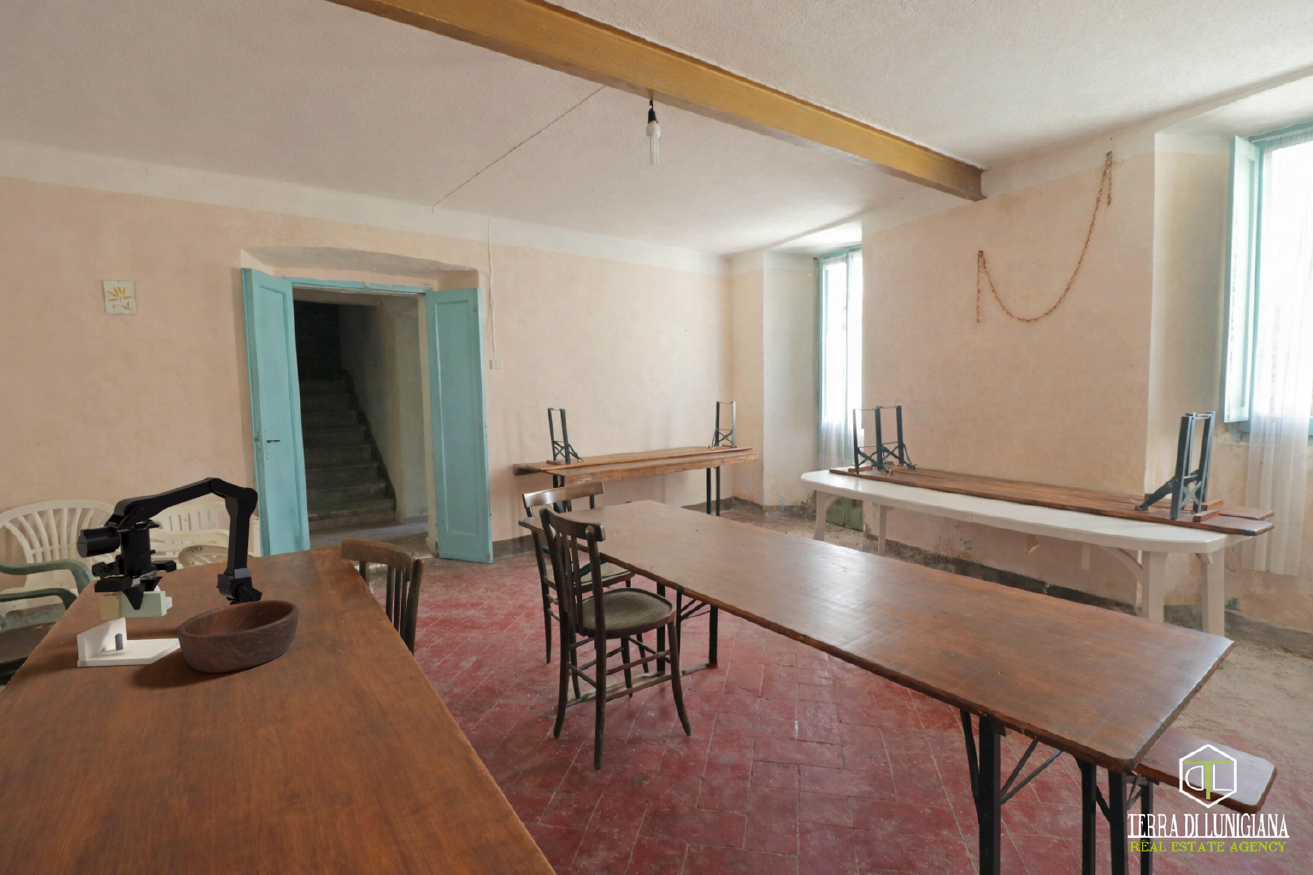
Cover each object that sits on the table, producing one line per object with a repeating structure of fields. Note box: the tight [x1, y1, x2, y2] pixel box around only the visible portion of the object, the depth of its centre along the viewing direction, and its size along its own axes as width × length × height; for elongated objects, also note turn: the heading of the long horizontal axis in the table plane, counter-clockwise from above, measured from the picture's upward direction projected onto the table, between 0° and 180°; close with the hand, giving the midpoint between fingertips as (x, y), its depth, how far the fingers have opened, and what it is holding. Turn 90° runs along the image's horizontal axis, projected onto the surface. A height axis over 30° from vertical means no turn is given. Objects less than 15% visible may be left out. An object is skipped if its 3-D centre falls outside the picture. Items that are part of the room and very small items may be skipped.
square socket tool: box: [98, 590, 168, 621], centre depth 149 cm, size 14×4×6 cm, turn 93°
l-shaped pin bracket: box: [76, 617, 181, 668], centre depth 150 cm, size 17×12×8 cm
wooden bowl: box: [176, 599, 299, 674], centre depth 149 cm, size 25×25×10 cm
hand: (140, 608), depth 150 cm, fingers closed on square socket tool, 2 cm apart
